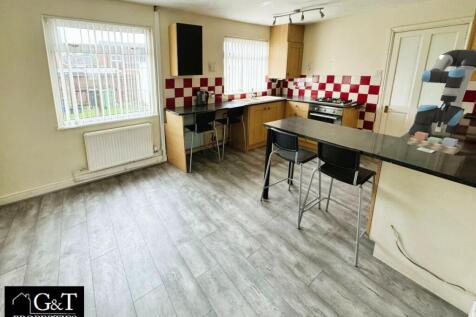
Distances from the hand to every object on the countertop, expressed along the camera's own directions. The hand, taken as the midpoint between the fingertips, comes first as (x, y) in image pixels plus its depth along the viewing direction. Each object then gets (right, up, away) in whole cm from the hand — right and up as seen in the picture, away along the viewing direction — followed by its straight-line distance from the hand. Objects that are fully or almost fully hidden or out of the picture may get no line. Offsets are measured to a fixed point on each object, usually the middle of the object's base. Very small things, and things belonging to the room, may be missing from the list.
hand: (437, 131), depth 162 cm
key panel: (-1, -10, +4) cm, 11 cm away
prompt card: (-10, -13, -3) cm, 17 cm away
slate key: (+4, -10, -3) cm, 11 cm away
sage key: (-1, -9, +3) cm, 10 cm away
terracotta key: (-5, -5, +8) cm, 11 cm away
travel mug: (+47, +4, +45) cm, 65 cm away
